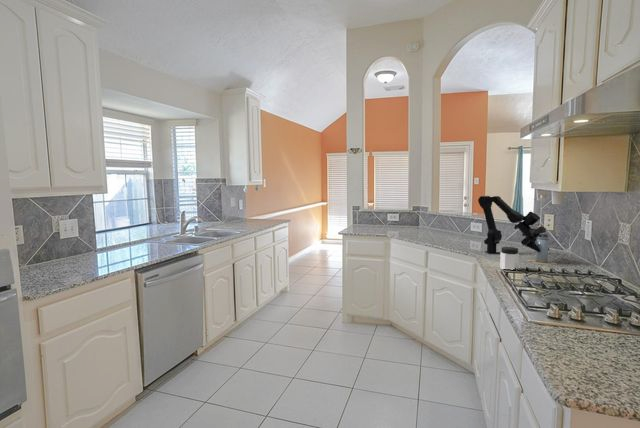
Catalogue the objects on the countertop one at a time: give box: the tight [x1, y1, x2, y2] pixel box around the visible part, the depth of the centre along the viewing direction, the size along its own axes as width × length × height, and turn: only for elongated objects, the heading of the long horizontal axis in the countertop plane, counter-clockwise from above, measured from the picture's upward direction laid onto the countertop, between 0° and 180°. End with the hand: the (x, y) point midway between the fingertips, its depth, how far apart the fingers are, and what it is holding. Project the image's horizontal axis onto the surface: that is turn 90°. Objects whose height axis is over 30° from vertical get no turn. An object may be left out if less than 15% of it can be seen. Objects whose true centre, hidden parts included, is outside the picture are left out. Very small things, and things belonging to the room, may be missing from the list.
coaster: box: [526, 259, 558, 266], centre depth 207 cm, size 12×12×1 cm
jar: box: [499, 246, 520, 270], centre depth 194 cm, size 9×8×12 cm
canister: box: [535, 234, 550, 263], centre depth 207 cm, size 6×6×16 cm
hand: (544, 251), depth 206 cm, fingers open, 8 cm apart
